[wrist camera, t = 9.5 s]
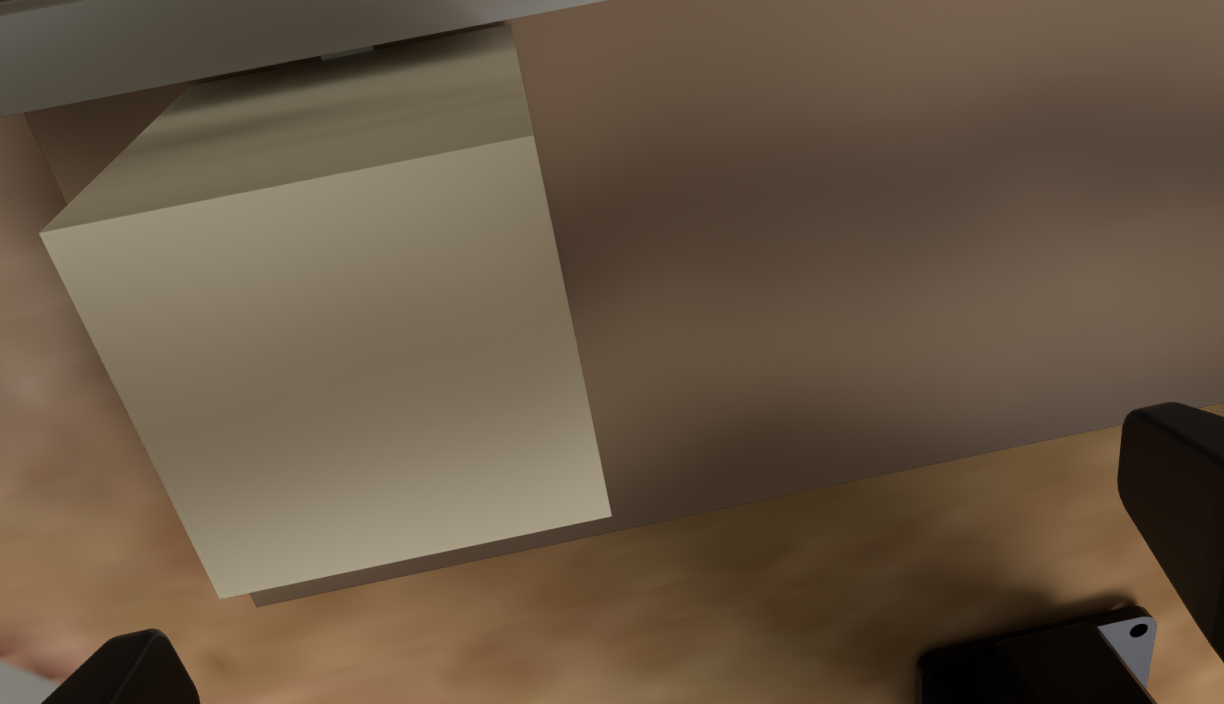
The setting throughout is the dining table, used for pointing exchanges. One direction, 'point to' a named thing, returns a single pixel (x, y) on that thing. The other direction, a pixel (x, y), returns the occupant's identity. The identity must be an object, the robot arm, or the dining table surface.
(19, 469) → the dining table surface
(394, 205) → the beige block
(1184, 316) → the walnut board
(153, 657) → the robot arm
